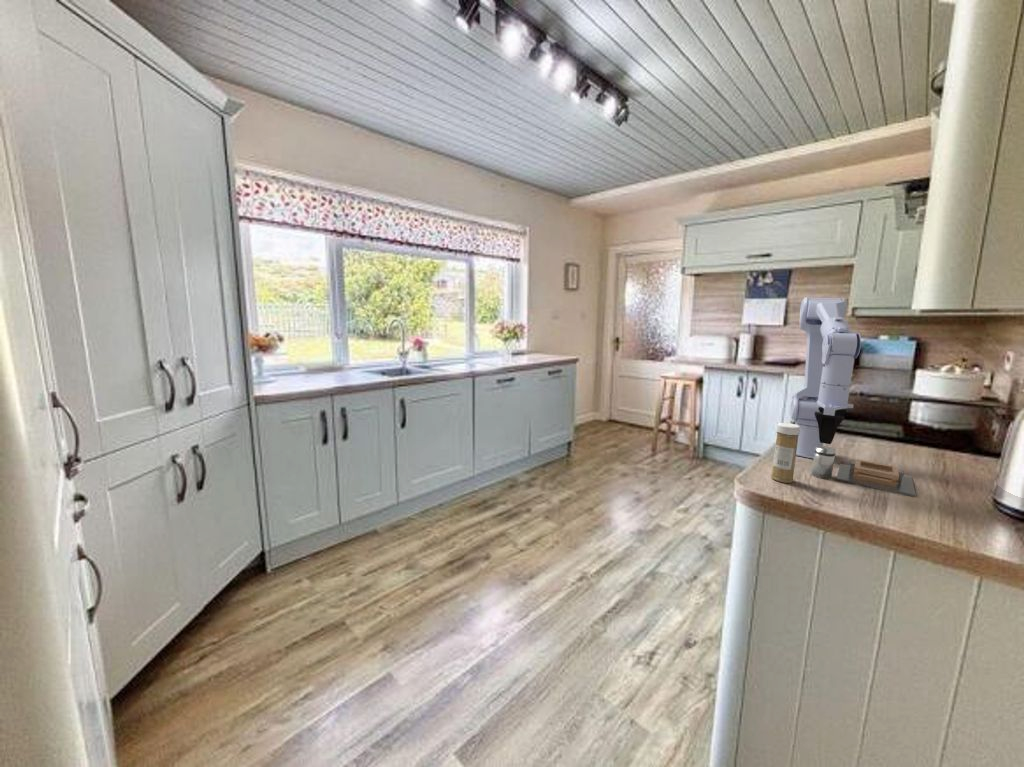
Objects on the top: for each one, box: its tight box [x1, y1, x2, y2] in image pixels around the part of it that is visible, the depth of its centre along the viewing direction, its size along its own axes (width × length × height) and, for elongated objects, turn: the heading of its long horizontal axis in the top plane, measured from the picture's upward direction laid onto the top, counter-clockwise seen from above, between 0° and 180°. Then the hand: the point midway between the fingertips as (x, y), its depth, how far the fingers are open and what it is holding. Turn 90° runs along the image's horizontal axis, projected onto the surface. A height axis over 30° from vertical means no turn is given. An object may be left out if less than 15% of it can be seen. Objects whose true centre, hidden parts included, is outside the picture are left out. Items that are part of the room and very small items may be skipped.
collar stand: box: [836, 459, 916, 498], centre depth 106 cm, size 14×14×3 cm
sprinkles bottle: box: [770, 422, 800, 484], centre depth 103 cm, size 5×5×14 cm
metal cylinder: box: [811, 445, 836, 480], centre depth 107 cm, size 4×4×7 cm
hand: (826, 439), depth 106 cm, fingers open, 7 cm apart
